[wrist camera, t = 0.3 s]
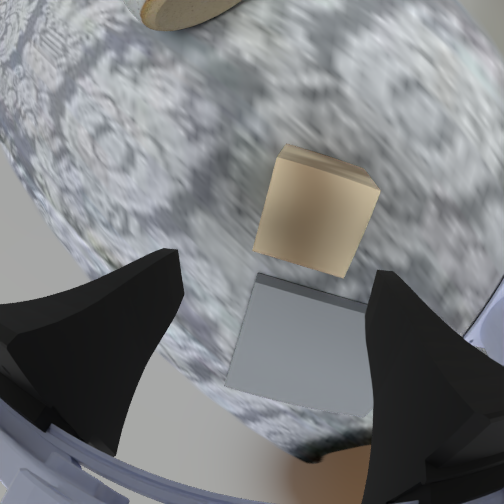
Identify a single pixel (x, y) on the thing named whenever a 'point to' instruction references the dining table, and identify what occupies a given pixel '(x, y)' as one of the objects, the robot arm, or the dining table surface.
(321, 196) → the maple block
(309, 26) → the dining table surface
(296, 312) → the slate board
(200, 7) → the ceramic mug
